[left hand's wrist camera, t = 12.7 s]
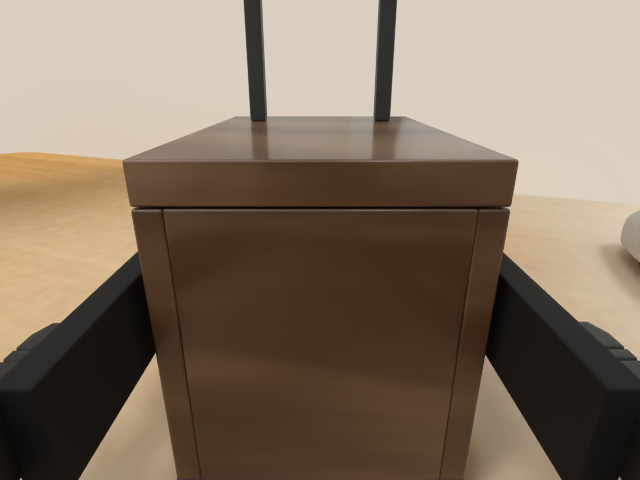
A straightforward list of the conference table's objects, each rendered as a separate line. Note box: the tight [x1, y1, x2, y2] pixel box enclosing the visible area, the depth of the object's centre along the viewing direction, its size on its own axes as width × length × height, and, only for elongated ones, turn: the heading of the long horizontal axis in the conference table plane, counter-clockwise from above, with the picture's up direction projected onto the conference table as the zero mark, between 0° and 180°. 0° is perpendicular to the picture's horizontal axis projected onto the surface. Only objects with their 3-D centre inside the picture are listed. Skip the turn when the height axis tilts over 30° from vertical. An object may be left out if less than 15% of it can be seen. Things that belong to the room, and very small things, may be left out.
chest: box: [132, 207, 510, 480], centre depth 17 cm, size 13×9×10 cm
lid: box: [123, 0, 518, 207], centre depth 14 cm, size 13×9×9 cm
